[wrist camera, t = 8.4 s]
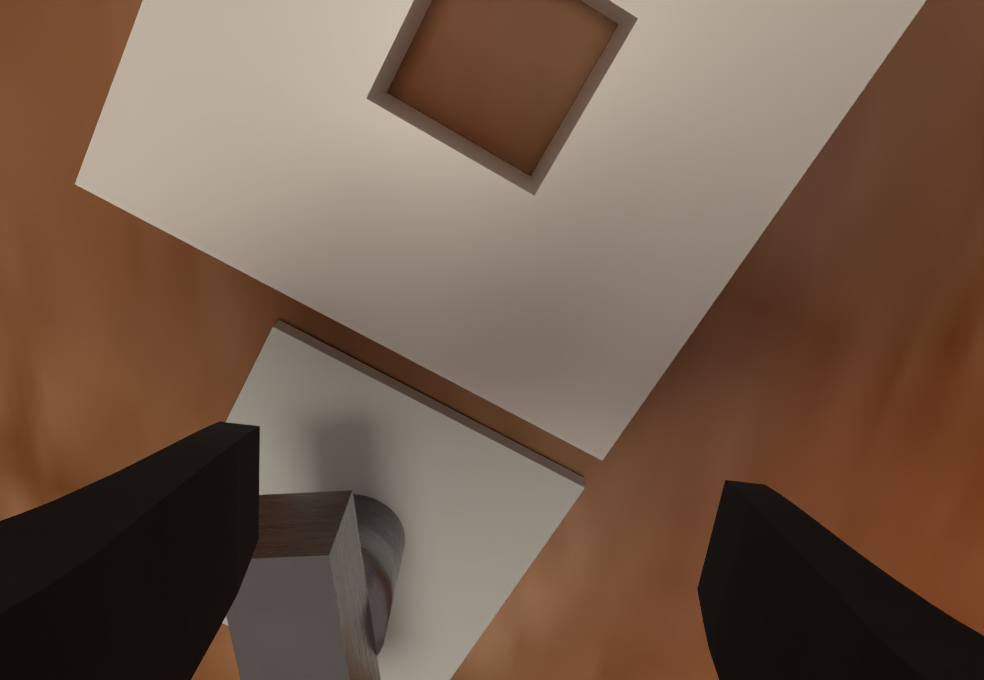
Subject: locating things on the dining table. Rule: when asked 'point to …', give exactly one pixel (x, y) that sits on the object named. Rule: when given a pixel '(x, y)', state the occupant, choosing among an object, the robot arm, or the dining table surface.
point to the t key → (317, 588)
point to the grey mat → (408, 489)
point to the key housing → (486, 180)
